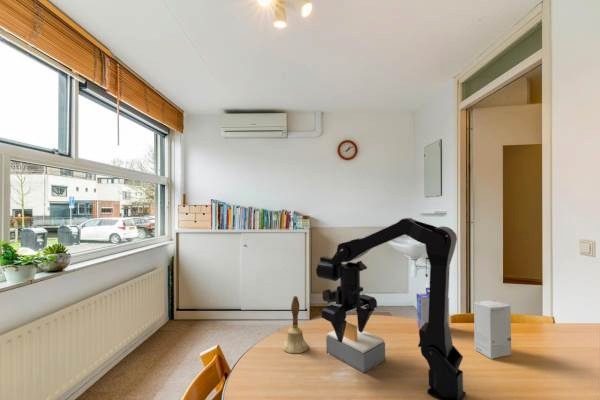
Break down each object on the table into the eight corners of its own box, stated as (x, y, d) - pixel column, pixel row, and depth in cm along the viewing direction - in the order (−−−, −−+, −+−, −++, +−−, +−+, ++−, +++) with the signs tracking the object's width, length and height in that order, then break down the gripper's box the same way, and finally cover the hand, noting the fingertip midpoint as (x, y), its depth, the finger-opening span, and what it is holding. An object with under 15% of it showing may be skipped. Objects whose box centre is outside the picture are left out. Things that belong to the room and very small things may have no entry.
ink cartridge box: (443, 326, 105) (443, 286, 105) (450, 333, 99) (450, 291, 99) (416, 325, 106) (415, 286, 106) (421, 332, 100) (421, 291, 100)
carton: (385, 359, 83) (385, 342, 83) (364, 373, 77) (363, 354, 77) (347, 341, 94) (347, 326, 94) (326, 352, 87) (326, 336, 87)
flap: (384, 341, 83) (383, 325, 83) (363, 353, 77) (363, 336, 77) (347, 326, 93) (347, 312, 94) (327, 335, 87) (327, 320, 87)
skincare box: (491, 359, 83) (490, 308, 83) (473, 349, 88) (472, 301, 88) (512, 355, 85) (512, 305, 85) (493, 345, 91) (493, 298, 91)
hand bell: (288, 339, 96) (287, 291, 96) (311, 343, 93) (311, 294, 93) (277, 351, 88) (277, 299, 89) (303, 356, 86) (302, 302, 86)
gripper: (349, 273, 96) (349, 319, 96) (308, 283, 84) (308, 336, 84) (377, 279, 88) (378, 330, 88) (336, 292, 76) (336, 351, 76)
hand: (350, 336), depth 84 cm, fingers open, 9 cm apart
